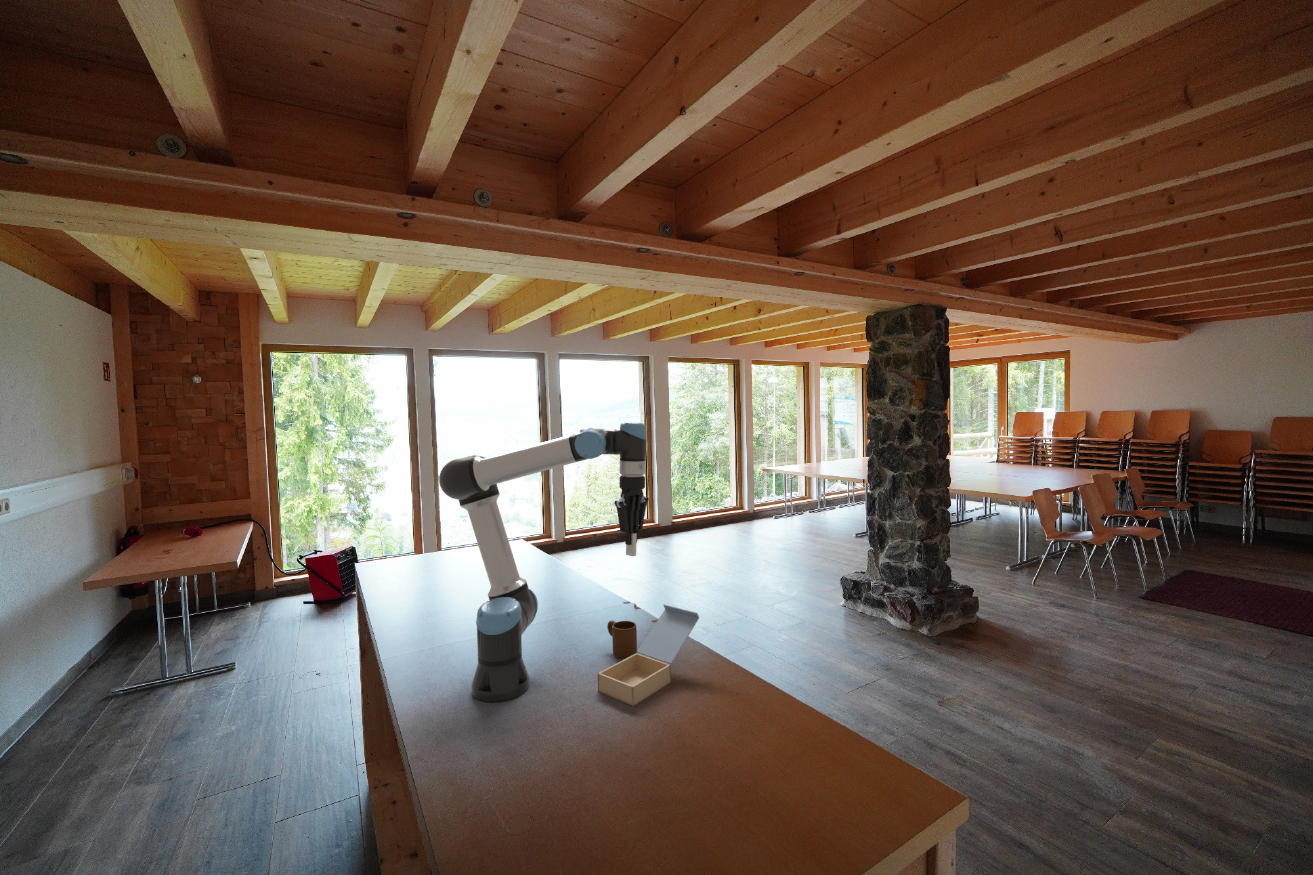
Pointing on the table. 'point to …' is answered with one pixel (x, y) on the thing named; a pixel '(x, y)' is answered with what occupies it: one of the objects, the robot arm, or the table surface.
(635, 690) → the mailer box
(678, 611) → the lid
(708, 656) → the table surface
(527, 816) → the table surface
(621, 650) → the mug
